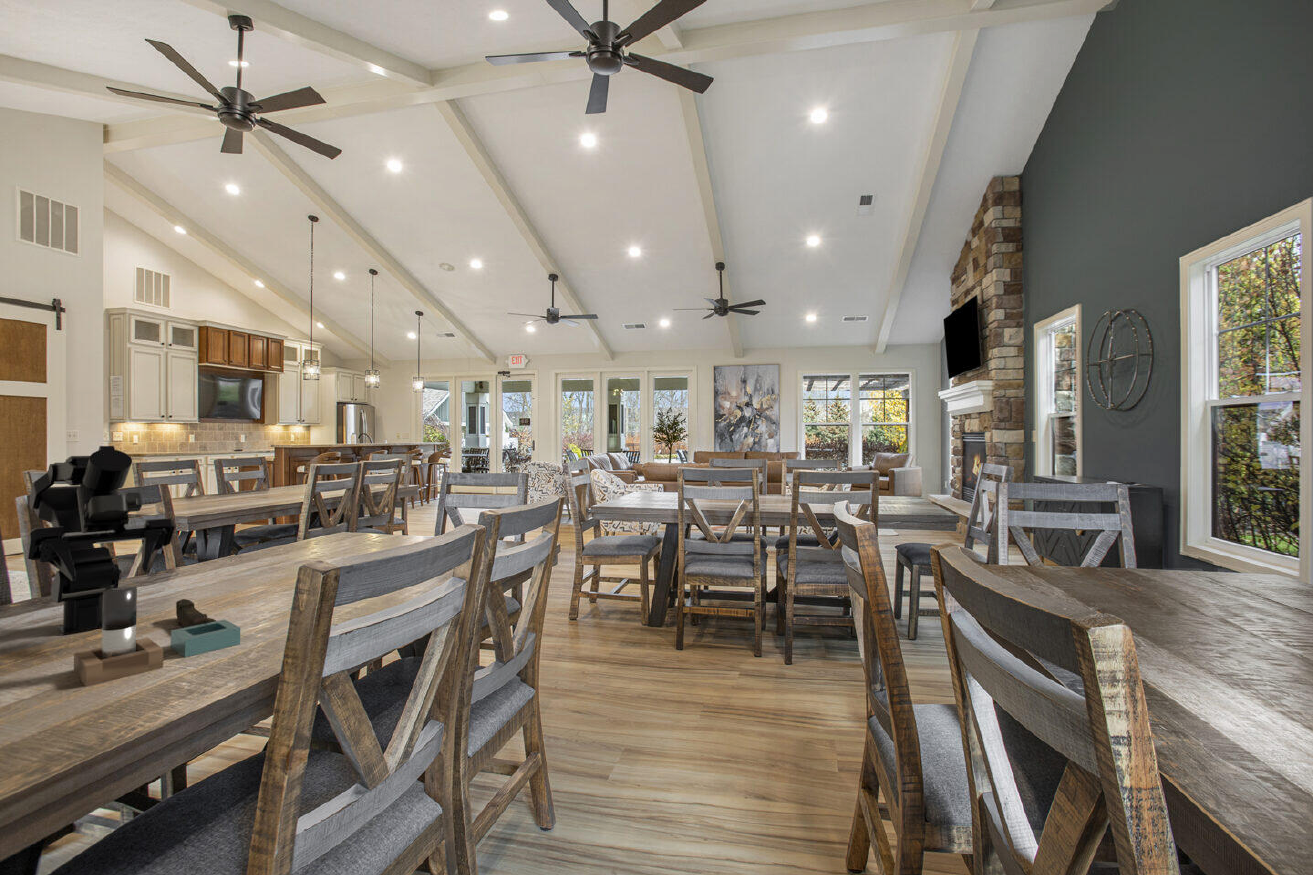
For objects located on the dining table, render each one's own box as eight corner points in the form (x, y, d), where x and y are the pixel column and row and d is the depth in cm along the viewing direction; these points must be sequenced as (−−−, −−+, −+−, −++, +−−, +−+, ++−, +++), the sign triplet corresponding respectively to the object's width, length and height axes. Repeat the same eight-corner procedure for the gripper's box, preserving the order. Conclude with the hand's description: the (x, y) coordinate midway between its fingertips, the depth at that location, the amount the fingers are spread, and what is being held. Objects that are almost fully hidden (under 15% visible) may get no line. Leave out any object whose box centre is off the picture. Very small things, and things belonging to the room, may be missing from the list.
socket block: (170, 647, 101) (171, 630, 101) (224, 634, 107) (224, 619, 107) (185, 657, 96) (185, 639, 96) (240, 643, 103) (240, 627, 103)
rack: (73, 671, 90) (74, 653, 90) (147, 654, 97) (147, 637, 97) (85, 686, 85) (86, 666, 85) (163, 667, 92) (163, 648, 92)
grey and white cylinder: (105, 667, 92) (107, 588, 92) (138, 662, 94) (139, 585, 94) (98, 676, 88) (99, 594, 88) (132, 671, 90) (133, 590, 90)
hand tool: (216, 637, 107) (217, 613, 107) (189, 642, 104) (190, 617, 104) (196, 616, 120) (197, 595, 120) (172, 621, 117) (173, 598, 117)
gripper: (30, 481, 95) (36, 554, 88) (173, 476, 109) (188, 539, 103) (24, 523, 99) (30, 596, 92) (162, 513, 114) (175, 575, 107)
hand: (111, 574), depth 99 cm, fingers open, 9 cm apart
